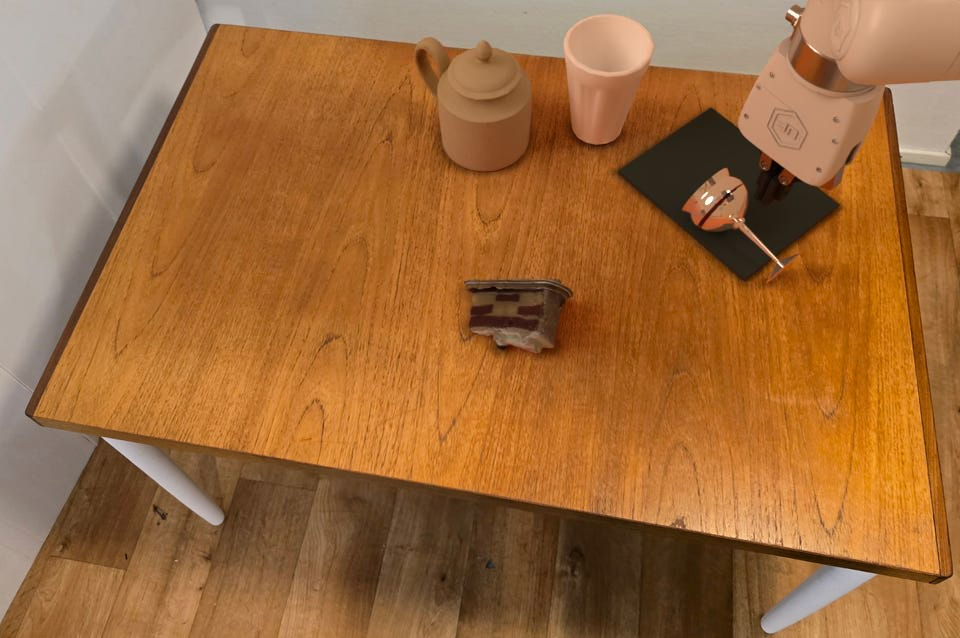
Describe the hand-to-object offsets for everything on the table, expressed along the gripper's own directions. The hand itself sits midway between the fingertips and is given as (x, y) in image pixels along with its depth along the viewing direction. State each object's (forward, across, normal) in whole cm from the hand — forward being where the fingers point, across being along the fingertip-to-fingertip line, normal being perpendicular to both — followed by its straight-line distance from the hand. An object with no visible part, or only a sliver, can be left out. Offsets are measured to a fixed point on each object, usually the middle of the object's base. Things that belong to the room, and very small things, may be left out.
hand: (768, 195), depth 75 cm
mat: (+10, -7, +5) cm, 13 cm away
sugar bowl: (+10, -33, -13) cm, 37 cm away
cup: (+10, -24, 0) cm, 26 cm away
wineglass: (+7, +5, 0) cm, 9 cm away
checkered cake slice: (+10, -9, -26) cm, 29 cm away
